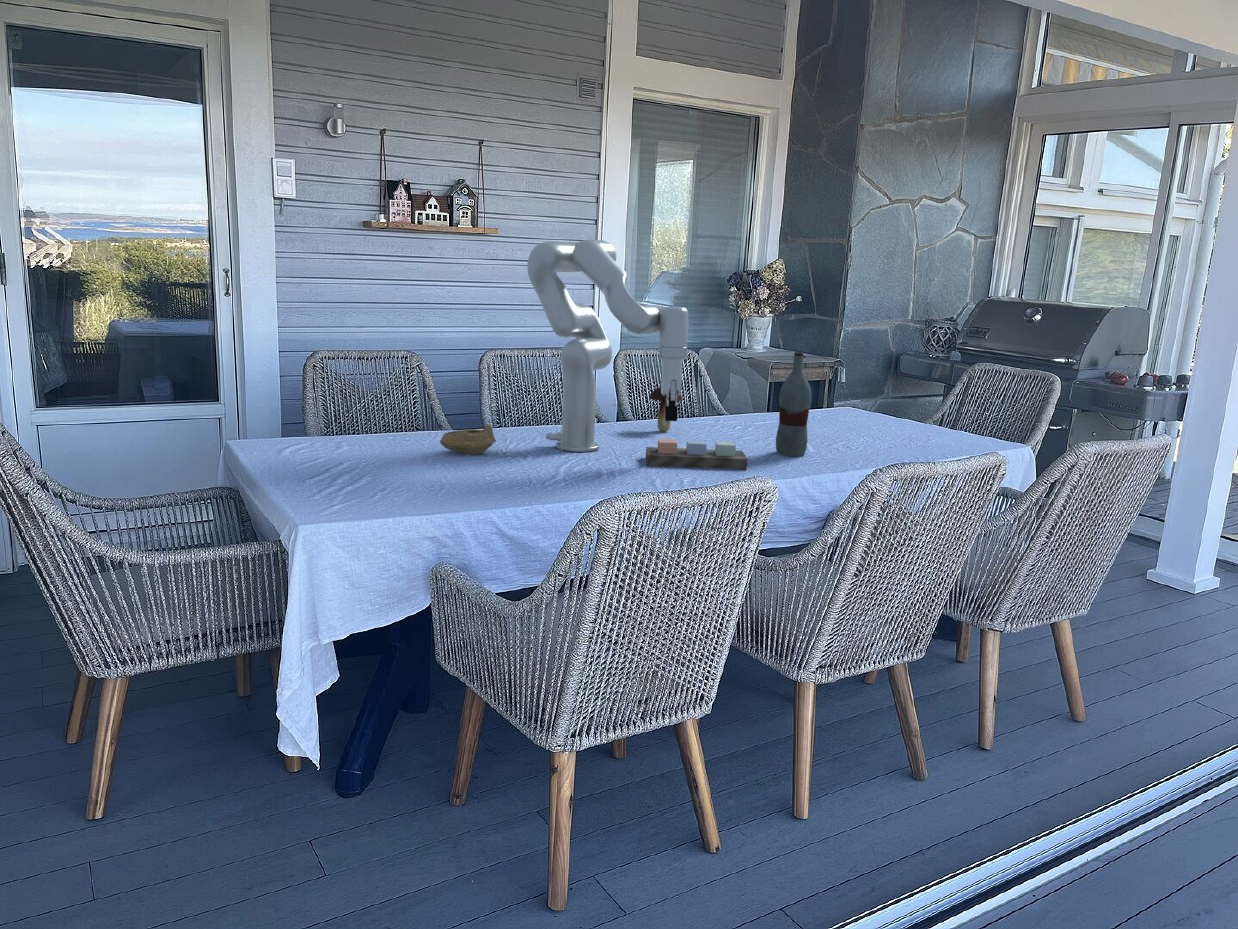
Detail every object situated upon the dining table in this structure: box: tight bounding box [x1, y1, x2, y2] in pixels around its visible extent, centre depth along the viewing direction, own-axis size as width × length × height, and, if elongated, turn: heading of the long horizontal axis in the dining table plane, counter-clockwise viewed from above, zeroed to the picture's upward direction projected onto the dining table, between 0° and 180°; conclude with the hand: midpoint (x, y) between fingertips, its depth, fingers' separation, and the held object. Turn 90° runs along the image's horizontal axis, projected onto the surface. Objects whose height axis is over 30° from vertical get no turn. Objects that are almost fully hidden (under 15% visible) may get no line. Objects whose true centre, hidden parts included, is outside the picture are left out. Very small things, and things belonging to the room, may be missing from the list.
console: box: [645, 446, 748, 471], centre depth 267 cm, size 27×11×3 cm, turn 91°
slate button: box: [685, 439, 707, 455], centre depth 266 cm, size 5×5×4 cm
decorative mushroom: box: [648, 386, 684, 433], centre depth 311 cm, size 11×11×15 cm
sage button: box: [714, 440, 737, 456], centre depth 266 cm, size 5×5×4 cm
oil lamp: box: [439, 424, 497, 456], centre depth 267 cm, size 11×15×8 cm
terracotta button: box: [657, 438, 678, 454], centre depth 266 cm, size 5×5×4 cm
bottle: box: [775, 351, 812, 457], centre depth 283 cm, size 9×9×30 cm
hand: (671, 420), depth 264 cm, fingers closed
